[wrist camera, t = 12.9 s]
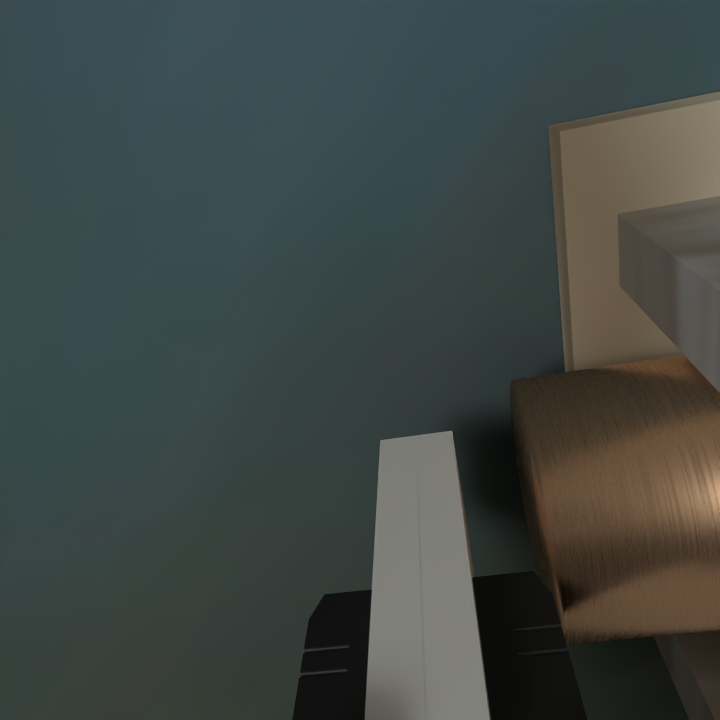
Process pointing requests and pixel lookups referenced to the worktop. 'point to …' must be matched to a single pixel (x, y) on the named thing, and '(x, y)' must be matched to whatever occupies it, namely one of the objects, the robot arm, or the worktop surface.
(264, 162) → the worktop surface
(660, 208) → the board
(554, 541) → the tube
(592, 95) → the worktop surface
